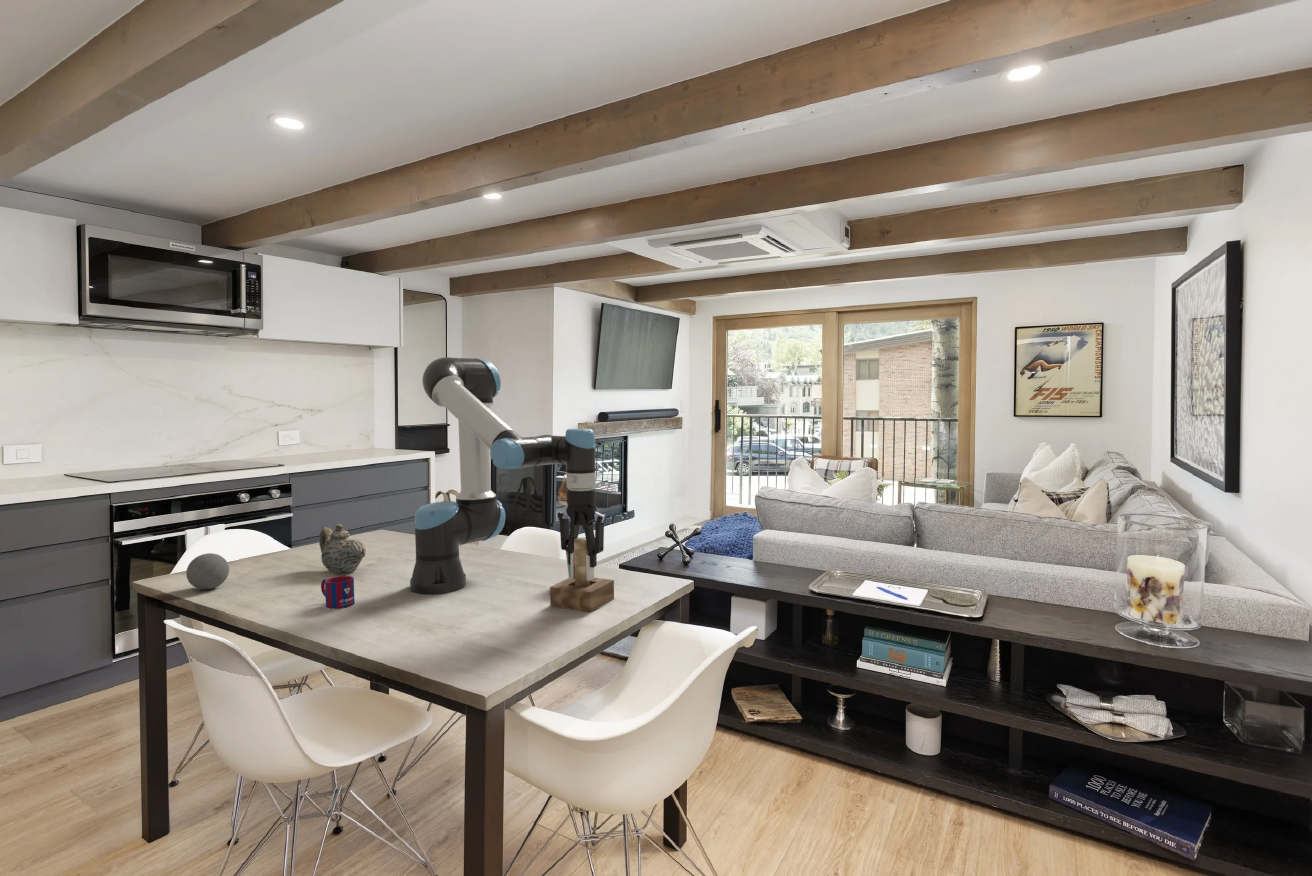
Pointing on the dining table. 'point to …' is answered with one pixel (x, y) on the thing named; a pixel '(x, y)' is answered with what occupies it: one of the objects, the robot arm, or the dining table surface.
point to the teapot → (340, 550)
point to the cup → (338, 591)
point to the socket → (582, 594)
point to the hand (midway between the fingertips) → (582, 578)
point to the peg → (580, 561)
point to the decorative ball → (207, 571)
